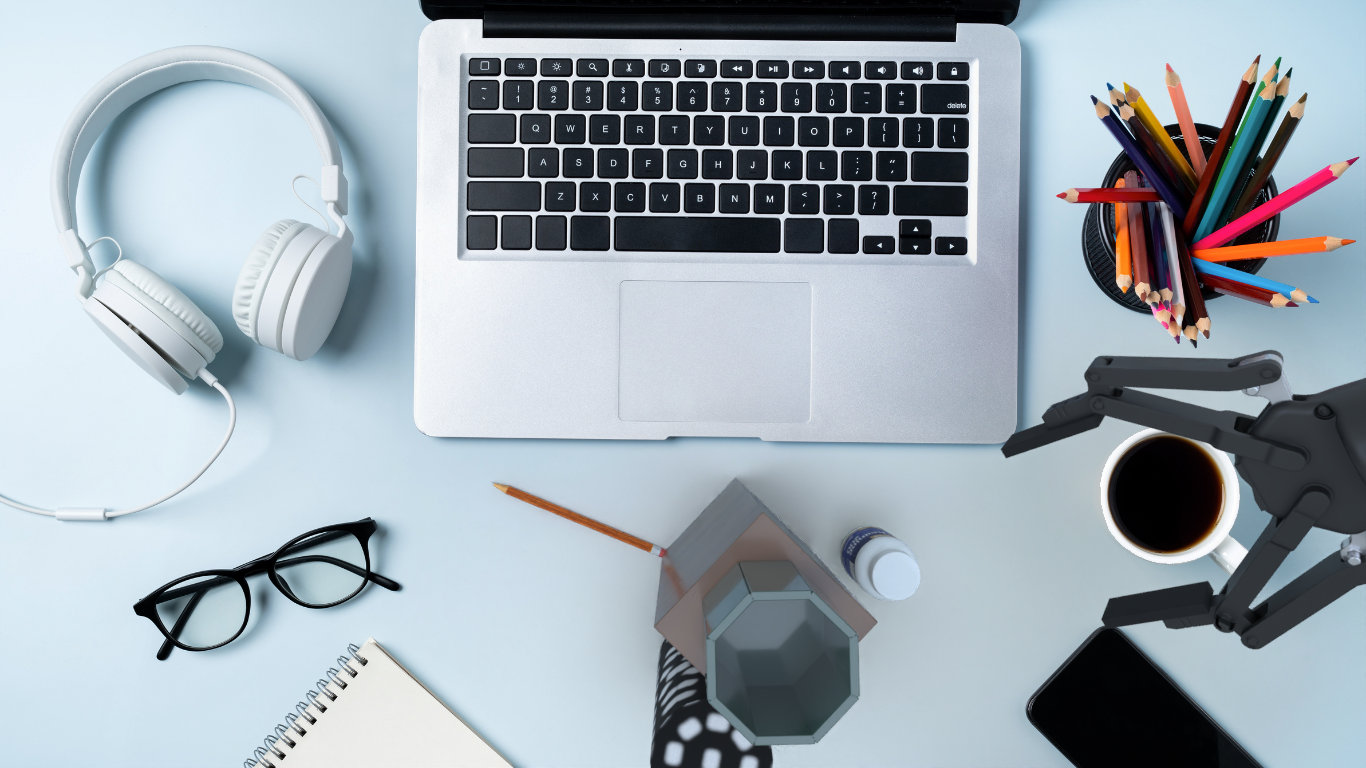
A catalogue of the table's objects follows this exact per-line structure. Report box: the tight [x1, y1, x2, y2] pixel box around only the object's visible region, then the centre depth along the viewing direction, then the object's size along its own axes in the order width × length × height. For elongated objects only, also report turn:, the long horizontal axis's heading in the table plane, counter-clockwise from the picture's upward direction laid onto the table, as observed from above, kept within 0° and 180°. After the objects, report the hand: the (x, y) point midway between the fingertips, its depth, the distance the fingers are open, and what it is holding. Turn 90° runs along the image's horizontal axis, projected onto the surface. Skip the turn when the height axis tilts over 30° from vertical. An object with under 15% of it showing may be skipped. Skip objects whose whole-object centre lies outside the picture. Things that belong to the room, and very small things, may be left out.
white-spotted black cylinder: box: [649, 638, 774, 768], centre depth 62 cm, size 8×8×20 cm
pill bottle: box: [839, 525, 921, 602], centre depth 67 cm, size 5×5×10 cm
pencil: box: [490, 482, 667, 558], centre depth 72 cm, size 1×18×1 cm, turn 68°
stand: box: [653, 477, 879, 676], centre depth 60 cm, size 10×10×24 cm
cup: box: [702, 560, 861, 746], centre depth 44 cm, size 8×8×8 cm
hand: (1057, 529), depth 54 cm, fingers open, 13 cm apart
